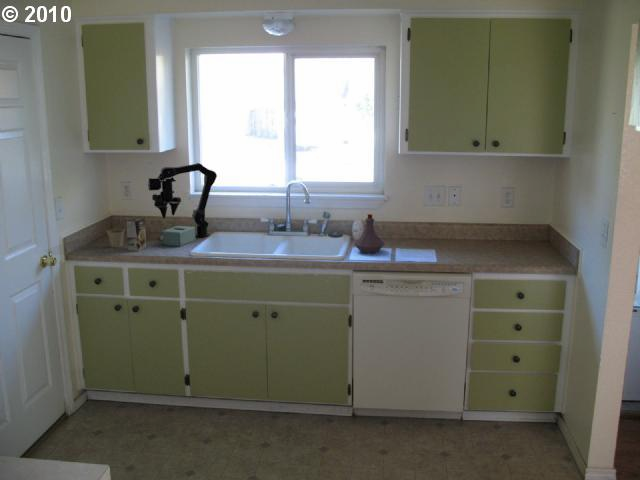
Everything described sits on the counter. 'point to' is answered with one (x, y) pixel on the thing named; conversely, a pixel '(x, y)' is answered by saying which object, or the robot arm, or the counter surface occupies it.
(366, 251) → the flask
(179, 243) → the box
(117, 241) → the flower pot
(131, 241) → the coffee box
